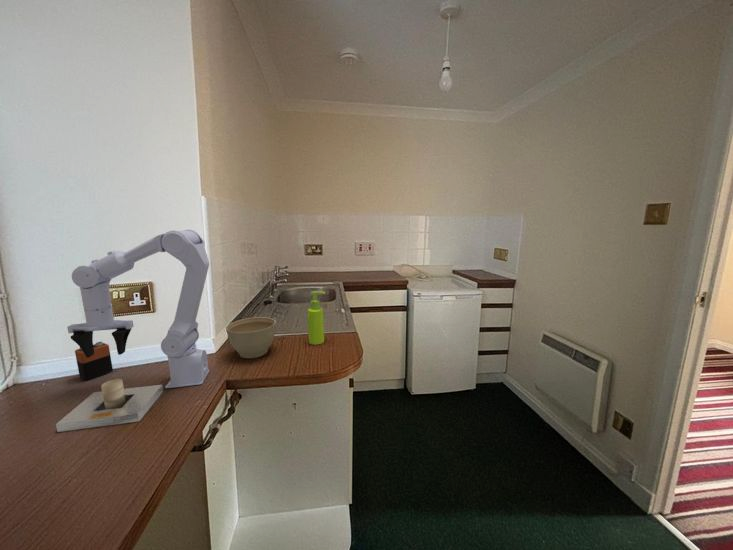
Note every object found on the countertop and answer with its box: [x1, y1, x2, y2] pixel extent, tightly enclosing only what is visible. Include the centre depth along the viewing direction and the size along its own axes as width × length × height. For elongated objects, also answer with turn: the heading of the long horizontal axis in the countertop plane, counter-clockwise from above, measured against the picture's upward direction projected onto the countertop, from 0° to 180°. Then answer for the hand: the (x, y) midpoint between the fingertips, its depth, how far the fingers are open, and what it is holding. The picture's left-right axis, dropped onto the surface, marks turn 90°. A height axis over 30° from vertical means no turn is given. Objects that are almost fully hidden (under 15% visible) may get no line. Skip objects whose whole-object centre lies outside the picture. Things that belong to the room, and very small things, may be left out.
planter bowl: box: [225, 316, 277, 359], centre depth 105 cm, size 16×16×11 cm
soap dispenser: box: [307, 290, 326, 346], centre depth 114 cm, size 6×7×20 cm
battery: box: [74, 341, 114, 382], centre depth 91 cm, size 4×7×10 cm, turn 153°
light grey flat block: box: [55, 384, 164, 433], centre depth 74 cm, size 16×13×2 cm
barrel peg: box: [100, 378, 126, 410], centre depth 74 cm, size 4×4×7 cm
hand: (106, 354), depth 84 cm, fingers open, 7 cm apart
